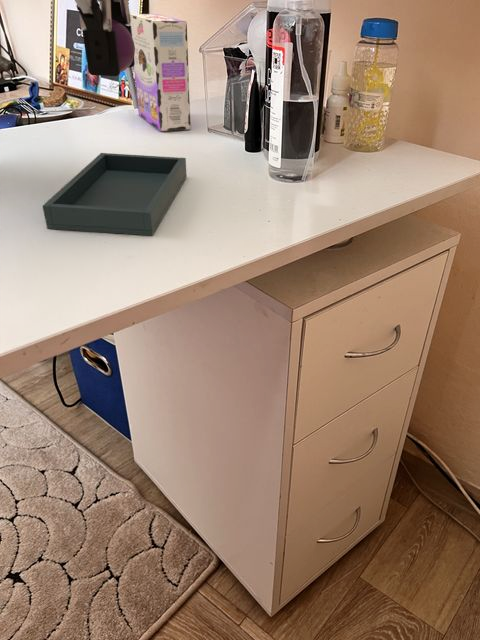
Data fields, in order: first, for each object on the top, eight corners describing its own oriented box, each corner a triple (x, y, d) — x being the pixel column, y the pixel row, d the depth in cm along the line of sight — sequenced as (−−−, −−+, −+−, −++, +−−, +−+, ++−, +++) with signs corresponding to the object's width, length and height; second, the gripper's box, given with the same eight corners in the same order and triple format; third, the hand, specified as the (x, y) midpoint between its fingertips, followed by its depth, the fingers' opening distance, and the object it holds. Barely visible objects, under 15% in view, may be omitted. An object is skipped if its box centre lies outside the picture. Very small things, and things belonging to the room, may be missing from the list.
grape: (83, 76, 56) (74, 20, 53) (98, 68, 60) (91, 16, 57) (130, 78, 55) (124, 22, 52) (142, 70, 59) (137, 18, 56)
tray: (47, 228, 58) (42, 205, 56) (103, 172, 74) (100, 152, 72) (152, 235, 57) (150, 212, 56) (186, 177, 73) (185, 157, 72)
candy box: (192, 130, 93) (188, 20, 84) (160, 132, 91) (152, 20, 81) (166, 112, 103) (160, 12, 93) (136, 114, 101) (127, 12, 91)
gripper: (77, -146, 54) (103, 58, 64) (-3, -184, 40) (47, 83, 51) (150, -144, 53) (164, 61, 64) (95, -182, 40) (125, 87, 50)
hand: (112, 68), depth 57 cm, fingers closed on grape, 4 cm apart
